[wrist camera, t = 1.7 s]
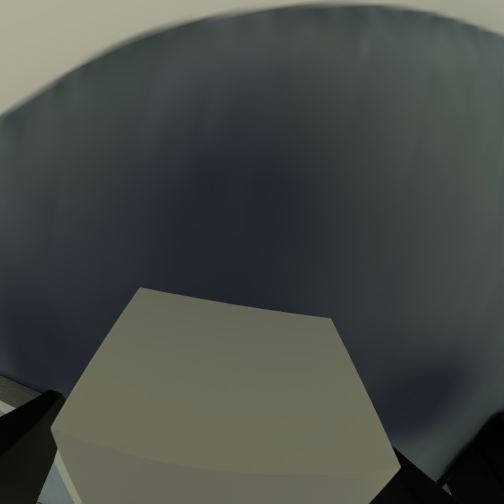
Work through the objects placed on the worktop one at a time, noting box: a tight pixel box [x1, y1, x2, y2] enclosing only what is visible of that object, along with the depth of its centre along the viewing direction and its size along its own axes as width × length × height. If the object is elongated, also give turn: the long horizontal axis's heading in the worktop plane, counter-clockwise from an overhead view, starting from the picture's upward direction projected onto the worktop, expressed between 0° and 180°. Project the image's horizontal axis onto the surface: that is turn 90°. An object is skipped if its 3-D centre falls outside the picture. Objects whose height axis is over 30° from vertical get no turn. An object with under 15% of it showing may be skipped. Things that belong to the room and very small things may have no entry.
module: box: [51, 287, 401, 504], centre depth 7 cm, size 5×7×5 cm
